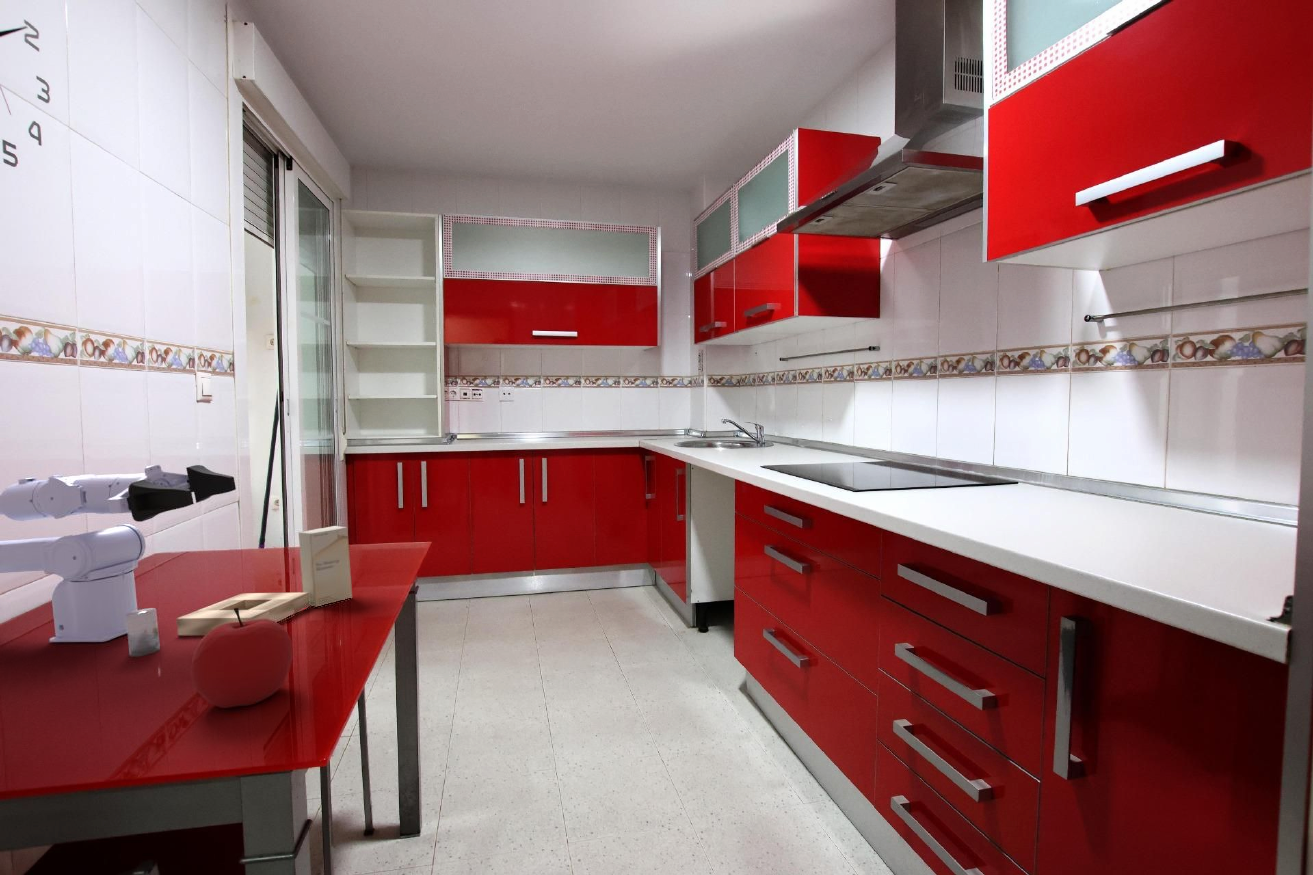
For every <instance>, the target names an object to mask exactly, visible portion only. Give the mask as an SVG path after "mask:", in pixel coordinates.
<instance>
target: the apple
mask: <svg viewBox="0 0 1313 875" xmlns="http://www.w3.org/2000/svg"><path fill="white" fill-rule="evenodd" d="M234 611H235V613H236V615H237V617H238V620H239V622H232V623H227V624H222V625H220V626H217V627H216V628H214V629H212V630H211V631H210V632H208V633H207V634H206V635H203V636H202V638H201V640H200V641H199V643H198V645H197V646H196V647H195V649H194V652H193V654H192V659H191V660H192V661H191V666H190V674H191V676H190V677H191V680H192V684H193V686H194V687H195V689H196V691H197V693H198V694H199V695H200V696H201V697H202V698H203V700H205V701H207V702H209V703H210V704H212V705H214V706H216V707H218V708H223V709H229V708H235V707H243V706H244V707H246V706H251V705H255V704H257V703H260V702H262V701H264V700H266V699H268V698H270V697H272V695H274V694H275V693H276V692H278V690H279V689H280V688H281V687H282V685H284V684H283V683H285V680H286V679H287V676H288V675H289V672H290V669H291V665H292V662H293V656H294V651H293V649H294V648H293V643H292V640H291V637H290V634H289V633H288V632H287V630H286V629H285V628H284V627H283V626H282V625H281V624H280V623H277V622H276V621H273V620H269V619H257V620H252V621H244V622H241V620H240V616H239V609H238V608H234Z"/></svg>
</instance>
